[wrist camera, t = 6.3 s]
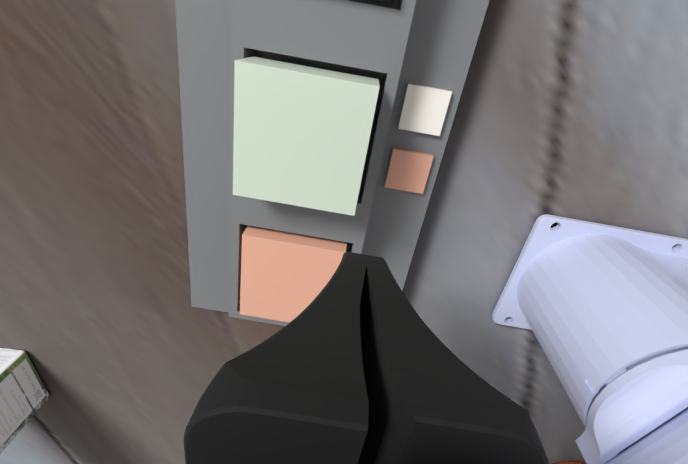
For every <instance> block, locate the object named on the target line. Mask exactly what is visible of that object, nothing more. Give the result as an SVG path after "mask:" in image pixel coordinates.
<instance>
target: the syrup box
mask: <svg viewBox="0 0 688 464" xmlns="http://www.w3.org/2000/svg"><path fill="white" fill-rule="evenodd" d="M49 397H50V395H49V393H48V391H47V390H46V388H45V386H44V384H43V382H42V381H41V379H40V377H39V375H38V374H37V371H36V370H35V368H34V366H33V364H32V363H31V361H30V359H29V357H28V355H27V354H26V352H25V351H22V350H14V349H3V348H0V453H1V452H2V451H3V450H4V449H5V448H6V446H7V445H8V444H9V443H10V442H11V441H12V440H13V438H14V437H15V436H16V435H17V434H18V433H19V432H20V431H21V429H22V428H23V427H24V426H25V425H26V424H27V422H28V421H29V420H30V419H31V418H32V416H33V415H34V414H35V413H36V412H37V411H38V410H39V409H40V408H41V406H42V405H43V404H44V403H45V402H46V401H47V399H48V398H49Z"/></svg>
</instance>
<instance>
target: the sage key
mask: <svg viewBox="0 0 688 464" xmlns="http://www.w3.org/2000/svg"><path fill="white" fill-rule="evenodd" d="M379 87H380V86H379V79H376V78H371V77H365V76H360V75H354V74H349V73H343V72H338V71H332V70H327V69H321V68H316V67H310V66H305V65H299V64H294V63H288V62H283V61H277V60H272V59H266V58H261V57H255V56H254V57H249V58H243V59H238V60H235V70H234V140H233V195H237V196H243V197H249V198H254V199H260V200H266V201H272V202H277V203H283V204H289V205H295V206H300V207H306V208H312V209H318V210H323V211H329V212H335V213H341V214H346V215H352V216H354V215H355V210H356V205H357V200H358V195H359V190H360V185H361V180H362V174H363V169H364V164H365V159H366V154H367V149H368V144H369V139H370V134H371V128H372V123H373V118H374V113H375V108H376V103H377V98H378V93H379Z"/></svg>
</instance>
